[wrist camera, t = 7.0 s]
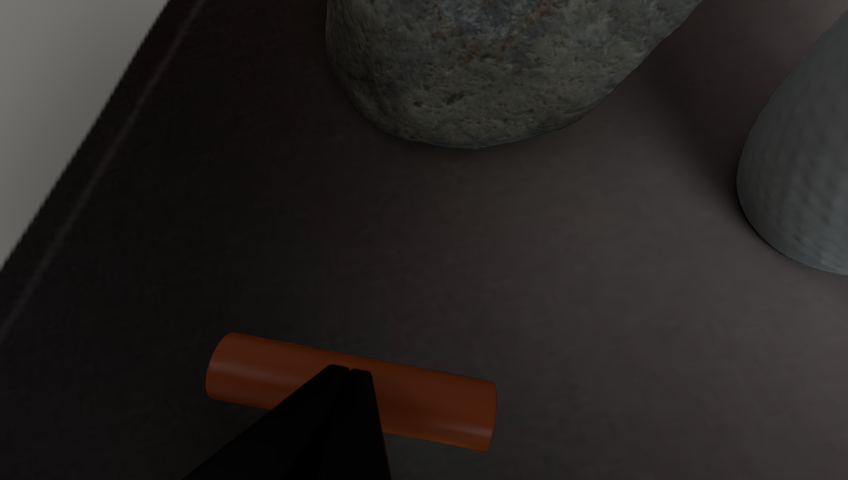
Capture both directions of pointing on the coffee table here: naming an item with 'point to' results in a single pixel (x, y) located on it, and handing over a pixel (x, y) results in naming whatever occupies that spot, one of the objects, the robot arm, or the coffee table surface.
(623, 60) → the stone
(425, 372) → the lever
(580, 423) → the coffee table surface
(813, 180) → the mug
